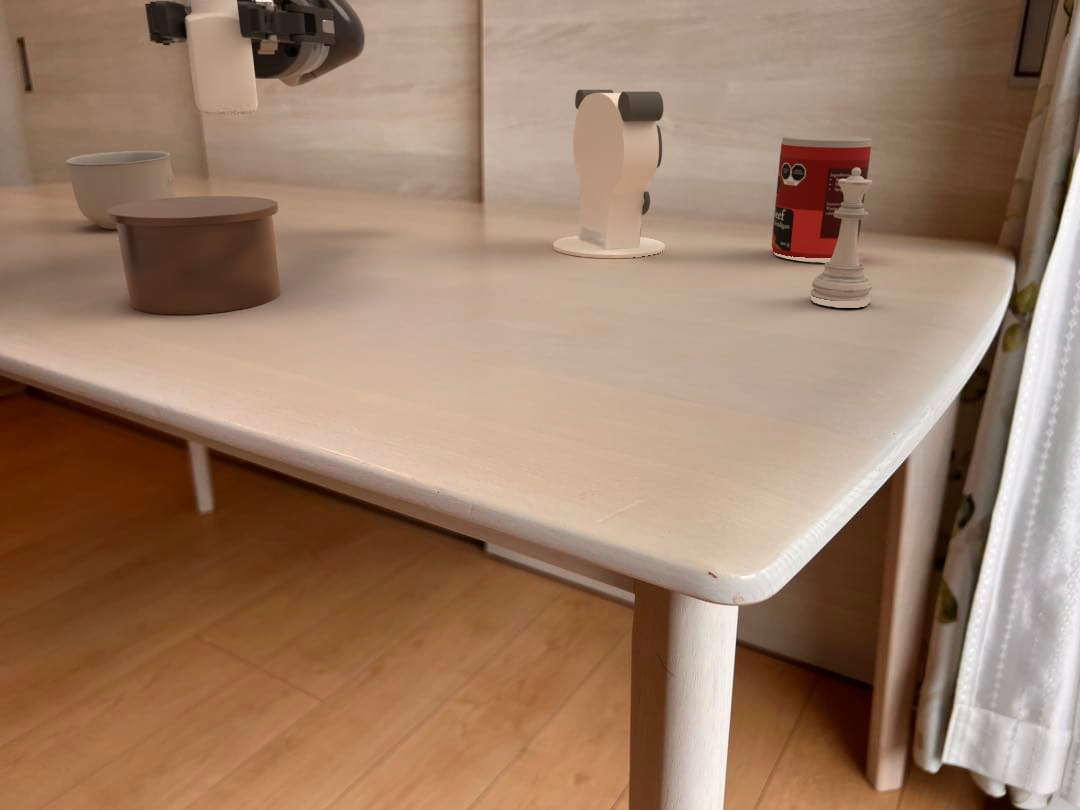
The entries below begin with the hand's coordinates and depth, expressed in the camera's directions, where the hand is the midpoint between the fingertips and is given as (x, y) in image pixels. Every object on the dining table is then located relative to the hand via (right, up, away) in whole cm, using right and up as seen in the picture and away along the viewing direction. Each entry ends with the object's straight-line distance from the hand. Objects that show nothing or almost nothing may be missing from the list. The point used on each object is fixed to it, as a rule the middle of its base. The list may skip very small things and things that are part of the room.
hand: (203, 19), depth 57 cm
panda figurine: (+29, -10, +30) cm, 43 cm away
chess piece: (+45, -18, +9) cm, 49 cm away
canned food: (+49, -11, +26) cm, 56 cm away
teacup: (-26, -5, +44) cm, 51 cm away
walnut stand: (-4, -17, +10) cm, 20 cm away
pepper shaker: (0, -5, +5) cm, 7 cm away
